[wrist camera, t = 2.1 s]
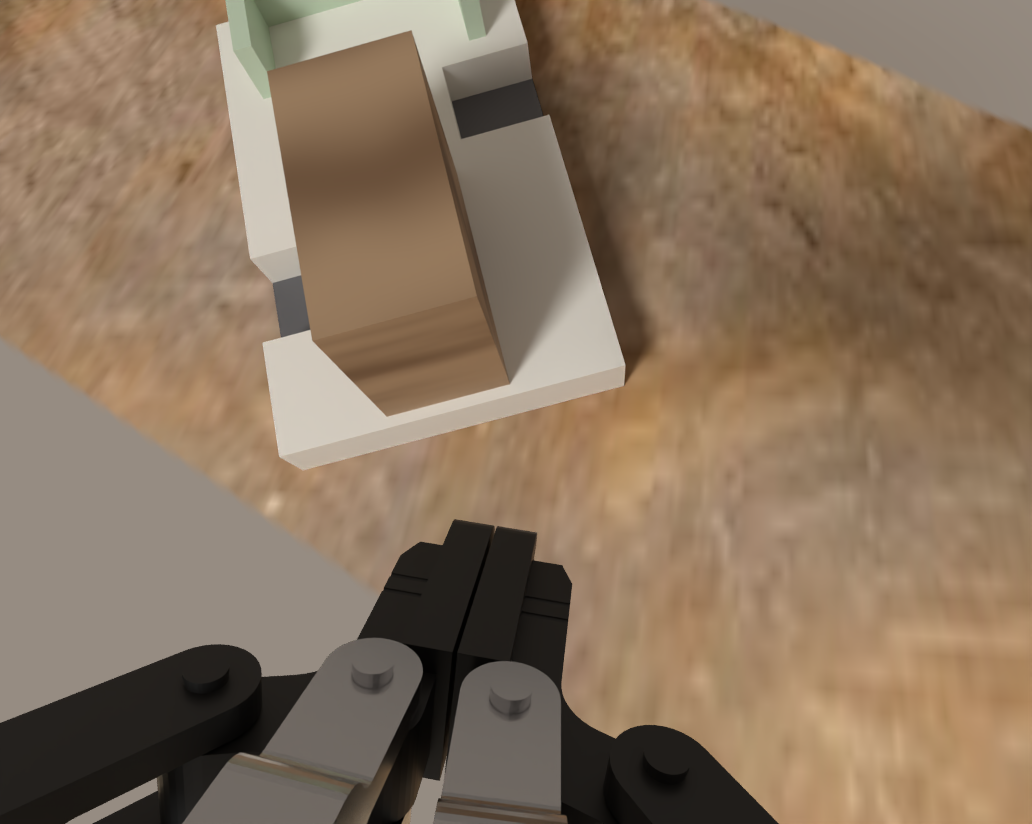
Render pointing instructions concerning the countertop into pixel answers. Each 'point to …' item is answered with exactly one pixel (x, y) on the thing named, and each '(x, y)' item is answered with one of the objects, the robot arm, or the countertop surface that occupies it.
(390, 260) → the walnut block
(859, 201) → the countertop surface
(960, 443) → the countertop surface
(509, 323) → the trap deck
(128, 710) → the robot arm
